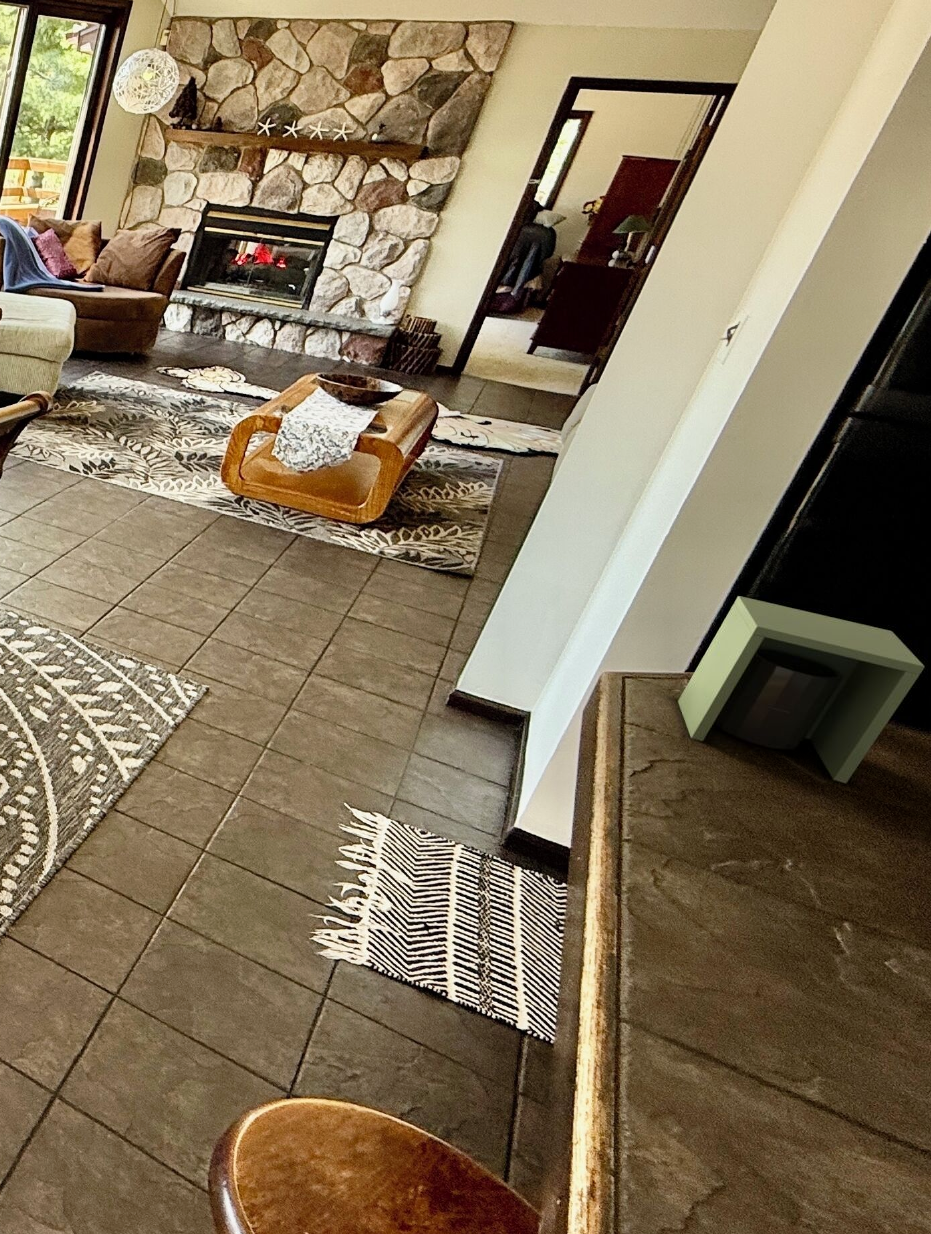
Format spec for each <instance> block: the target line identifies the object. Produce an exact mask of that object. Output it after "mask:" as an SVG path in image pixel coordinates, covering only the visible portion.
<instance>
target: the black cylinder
mask: <svg viewBox="0 0 931 1234" xmlns="http://www.w3.org/2000/svg"><path fill="white" fill-rule="evenodd" d="M842 679H843V676H842V674H841V673H840V672H838V671H837V670H835V669H833V668H831V667H830V666H827V665H825V664H822V663H820V662H817V661H815V660H812V659H809V658H806V657H803V656H799V655H796V654H792V653H788V652H784V651H779V650H773V649H766V648H758V649H757V651H756V652H755V654H754V656H753V657H752V659H751V661H750V662H749V664H748V666H747V667H746V669H745V671H744V673H743V674H742V676H741V678H740V679H739V681H738V683H737V684H736V686H735V688H734V689H733V691H732V693H731V694H730V696H729V698H728V699H727V701H726V703H725V704H724V706H723V708H722V710H721V711H720V713H719V715H718V716H717V718H716V720H715V721H714V723H713V725H715V726H717V727H718V728H719V729H720V730H722V731H724V732H725V733H727V734H729V735H731V736H732V737H736V738H737V739H740V740H742V741H745V742H748V743H751V744H753V745H757V746H761V747H763V748H764V747H765V748H769V749H774V750H786V751H789V750H790V751H791V750H792V751H794V750H796V749H797V748H799V747H800V746H801V744H802V742H803V741H804V739H806V738H805V736H806V735H807V733H808V731H809V730H810V728H811V727H812V725H813V724H814V722H815V721H816V719H817V717H818V716H819V714H820V712H821V711H822V710H823V708H824V707H825V705H826V703H827V702H828V700H829V699H830V697H831V696H832V694H833V693H834V691H835V689H836V688H837V686H838V685H839V683H840V682H841V680H842Z"/></svg>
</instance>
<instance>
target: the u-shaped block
mask: <svg viewBox="0 0 931 1234" xmlns="http://www.w3.org/2000/svg"><path fill="white" fill-rule="evenodd" d="M758 648H766V649H773V650H779V651H784V652H788V653H792V654H796V655H799V656H803V657H806V658H809V659H812V660H815V661H817V662H820V663H822V664H825V665H827V666H830V667H831V668H833V669H835V670H837V671H838V672H840V673H841V674H842V676H843V679H842V680H841V682H840V683H839V685H838V686H837V688H836V689H835V691H834V693H833V694H832V696H831V697H830V699H829V700H828V702H827V703H826V705H825V707H824V708H823V710H822V711H821V712H820V714H819V716H818V717H817V719H816V721H815V722H814V724H813V725H812V727H811V728H810V730H809V731H808V733H807V735H806V736H805V738H804V739H807V740H810V743H811V744H812V746H813V747H814V749H815V751H816V753H817V755H818V757H819V758H820V760H821V761H822V763H823V765H824V766H825V768H826V770H827V772H828V773H829V776H830V777H831V779H832V780H833V781H836V782H840V783H844V784H847V783H848V781H849V780H850V778H851V777H852V775H853V774H854V773H855V771H856V770H857V768H858V767H859V765H860V763H861V762H862V761H863V760H864V758H865V756H866V755H867V753H868V752H869V750H870V749H871V747H872V746H873V745H874V743H875V741H876V740H877V738H878V737H879V736H880V734H881V732H882V731H883V729H884V728H885V727H886V725H887V724H888V722H889V721H890V719H891V718H892V717H893V715H894V713H895V712H896V711H897V709H898V708H899V706H900V705H901V703H902V702H903V700H904V698H905V697H906V696H907V695H908V693H909V691H910V690H911V688H912V687H913V685H914V684H915V683H916V681H917V680H918V678H919V676H920V675H921V673H922V672H923V670H924V669H925V667H926V666H925V665H924V664H923V663H922V662H921V661H920V659H918V657H917V656H915V654H913V652H912V651H911V650H910V649H909V648H908V647H907V646H906V644H905V643H903V642H902V640H901V639H900V638H899V637H898V636H897V635H896V634H895V633H894V632H893V631H892V630H888V629H884V628H879V627H875V626H871V625H867V624H862V623H858V622H853V621H849V620H846V619H845V620H844V619H840V618H838V617H837V618H836V617H831V616H828V615H823V614H819V613H814V612H810V611H806V610H801V609H798V608H794V607H793V608H792V607H788V606H784V605H780V604H776V603H771V602H767V601H763V600H758V599H753V598H749V597H745V596H740V595H738V596H737V597H736V599H735V601H734V603H733V604H732V606H731V607H730V610H729V611H728V613H727V615H726V617H725V618H724V620H723V622H722V623H721V626H720V627H719V629H718V630H717V632H716V634H715V636H714V637H713V639H712V641H711V643H710V644H709V647H708V648H707V650H706V652H705V654H704V655H703V657H702V658H701V660H700V662H699V664H698V666H697V667H696V669H695V671H694V672H693V675H692V676H691V678H690V680H689V681H688V682H687V684H686V686H685V688H684V690H683V692H682V693H681V695H680V696H679V698H678V700H677V703H678V706H679V708H680V711H681V712H682V717H683V719H684V722H685V725H686V729H687V730H688V733H689V735H690V738H691V739H693V740H696V741H700V742H704V740H705V738H706V737H707V734H708V733H709V731H710V729H711V728H712V726H713V725H714V721H715V720H716V718H717V716H718V715H719V713H720V711H721V710H722V708H723V706H724V704H725V703H726V701H727V699H728V698H729V696H730V694H731V693H732V691H733V689H734V688H735V686H736V684H737V683H738V681H739V679H740V678H741V676H742V674H743V673H744V671H745V669H746V667H747V666H748V664H749V662H750V661H751V659H752V657H753V656H754V654H755V652H756V651H757V649H758Z"/></svg>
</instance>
